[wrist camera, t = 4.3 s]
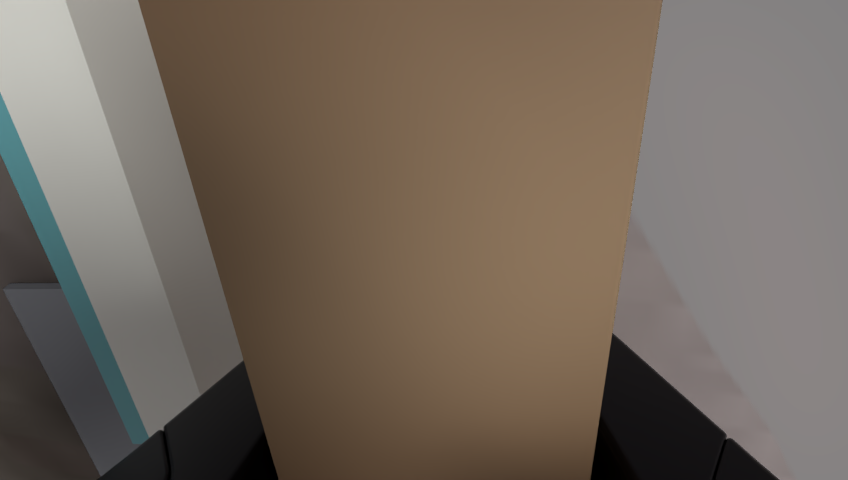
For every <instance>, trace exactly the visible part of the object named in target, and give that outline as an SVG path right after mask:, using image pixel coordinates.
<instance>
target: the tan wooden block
mask: <svg viewBox="0 0 848 480" xmlns="http://www.w3.org/2000/svg"><path fill="white" fill-rule="evenodd" d="M662 1H663V0H138V2H139V6H140V9H141V13H142V16H143V19H144V23H145V26H146V30H147V33H148V36H149V40H150V43H151V47H152V50H153V53H154V57H155V60H156V64H157V67H158V70H159V74H160V77H161V81H162V84H163V87H164V91H165V94H166V98H167V101H168V104H169V108H170V111H171V115H172V118H173V121H174V125H175V128H176V132H177V135H178V138H179V142H180V145H181V149H182V152H183V155H184V159H185V162H186V166H187V169H188V172H189V176H190V179H191V183H192V186H193V190H194V193H195V196H196V200H197V203H198V207H199V210H200V213H201V217H202V220H203V224H204V227H205V230H206V234H207V237H208V241H209V244H210V247H211V251H212V254H213V258H214V261H215V264H216V268H217V271H218V275H219V278H220V281H221V285H222V288H223V292H224V295H225V298H226V302H227V305H228V309H229V312H230V315H231V319H232V322H233V326H234V329H235V332H236V336H237V339H238V343H239V346H240V349H241V353H242V356H243V360H244V363H245V366H246V370H247V373H248V377H249V380H250V384H251V387H252V390H253V394H254V397H255V401H256V404H257V407H258V411H259V414H260V418H261V421H262V424H263V428H264V431H265V435H266V438H267V441H268V445H269V448H270V452H271V455H272V458H273V462H274V465H275V469H276V472H277V475H278V479H279V480H590V478H591V471H592V464H593V458H594V451H595V444H596V438H597V431H598V425H599V418H600V411H601V405H602V398H603V391H604V385H605V378H606V372H607V365H608V358H609V352H610V345H611V338H612V332H613V325H614V319H615V312H616V305H617V299H618V292H619V285H620V279H621V272H622V266H623V259H624V252H625V246H626V239H627V233H628V226H629V219H630V213H631V206H632V199H633V193H634V185H635V180H636V173H637V166H638V160H639V153H640V146H641V139H642V133H643V126H644V120H645V113H646V106H647V100H648V93H649V86H650V80H651V74H652V67H653V60H654V54H655V46H656V40H657V34H658V27H659V20H660V14H661V7H662Z"/></svg>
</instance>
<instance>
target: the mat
mask: <svg viewBox="0 0 848 480" xmlns="http://www.w3.org/2000/svg"><path fill="white" fill-rule="evenodd" d="M3 291H4V293H5V295H6V297H7V299H8V300H9V302H10V304H11V306H12V308H13V310H14V312H15V314H16V316H17V318H18V320H19V321H20V323H21V325H22V327H23V329H24V331H25V333H26V335H27V337H28V339H29V340H30V342H31V344H32V346H33V348H34V350H35V352H36V354H37V356H38V358H39V360H40V361H41V363H42V365H43V367H44V369H45V371H46V373H47V375H48V377H49V379H50V381H51V382H52V384H53V386H54V388H55V390H56V392H57V394H58V396H59V398H60V400H61V402H62V403H63V405H64V407H65V409H66V411H67V413H68V415H69V417H70V419H71V421H72V422H73V424H74V426H75V428H76V430H77V432H78V434H79V436H80V438H81V440H82V442H83V443H84V445H85V447H86V449H87V451H88V453H89V455H90V457H91V459H92V461H93V463H94V464H95V466H96V468H97V470H98V472H99V474H100V476H102V475H104V474H105V473H106V472H107V471H109V470H110V469H111V468H112V467H114V466H115V465H116V464H117V463H119V462H120V461H121V460H122V459H124V458H125V457H126V456H127V455H129V454H130V453H131V452H132V451H134V450H135V449H136V448H137V447H139V446H140V445H141V444H133V443H132V441H131V439H130V436H129V434H128V432H127V430H126V428H125V425H124V423H123V421H122V419H121V417H120V415H119V412H118V410H117V408H116V406H115V404H114V401H113V399H112V397H111V395H110V393H109V390H108V388H107V386H106V384H105V382H104V380H103V377H102V375H101V373H100V371H99V369H98V366H97V364H96V362H95V360H94V358H93V355H92V353H91V351H90V349H89V347H88V344H87V342H86V340H85V338H84V336H83V334H82V331H81V329H80V327H79V325H78V323H77V320H76V318H75V316H74V314H73V312H72V309H71V307H70V305H69V303H68V301H67V299H66V296H65V294H64V292H63V290H62V288H61V285H60V283H10V284H8V285H7V286H6V287H5V288H3Z"/></svg>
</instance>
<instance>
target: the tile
mask: <svg viewBox="0 0 848 480" xmlns="http://www.w3.org/2000/svg"><path fill="white" fill-rule="evenodd" d="M0 154H1V156H2V158H3V161H4V163H5V165H6V167H7V169H8V172H9V174H10V176H11V178H12V180H13V183H14V185H15V187H16V189H17V191H18V193H19V196H20V198H21V200H22V202H23V204H24V207H25V209H26V211H27V213H28V215H29V218H30V220H31V222H32V224H33V226H34V228H35V231H36V233H37V235H38V237H39V239H40V242H41V244H42V246H43V248H44V250H45V253H46V255H47V257H48V259H49V261H50V264H51V266H52V268H53V270H54V272H55V274H56V277H57V279H58V281H59V283H60V285H61V288H62V290H63V292H64V294H65V296H66V299H67V301H68V303H69V305H70V307H71V309H72V312H73V314H74V316H75V318H76V320H77V323H78V325H79V327H80V329H81V331H82V334H83V336H84V338H85V340H86V342H87V344H88V347H89V349H90V351H91V353H92V355H93V358H94V360H95V362H96V364H97V366H98V369H99V371H100V373H101V375H102V377H103V380H104V382H105V384H106V386H107V388H108V390H109V393H110V395H111V397H112V399H113V401H114V404H115V406H116V408H117V410H118V412H119V415H120V417H121V419H122V421H123V423H124V425H125V428H126V430H127V432H128V434H129V436H130V439H131V441H132V443H133V444H142V443H143V442H145V441H146V440H147V439H148V438H149V437H151V436H152V435H153V434H154V433H155V432H157V431H158V430H163V431H164V429H163V428H164V425H165V424H167V423H168V422H169V421H170V420H171V419H173V418H174V417H175V416H176V415H178V414H179V413H180V412H181V411H182V410H184V409H185V408H186V407H187V406H188V405H190V404H191V403H192V402H193V401H194V400H196V399H197V398H198V397H199V396H200V395H202V394H203V393H204V392H205V391H206V390H208V389H209V388H210V387H211V386H212V385H214V384H215V383H216V382H217V381H219V380H220V379H221V378H222V377H223V376H225V375H226V374H227V373H228V372H229V371H231V370H232V369H233V368H234V367H235V366H237V365H238V364H239V363H240V362H241V361H243V356H242V353H241V349H240V346H239V343H238V339H237V336H236V332H235V329H234V326H233V322H232V319H231V315H230V312H229V309H228V305H227V302H226V298H225V295H224V292H223V288H222V285H221V281H220V278H219V275H218V271H217V268H216V264H215V261H214V258H213V254H212V251H211V247H210V244H209V241H208V237H207V234H206V230H205V227H204V224H203V220H202V217H201V213H200V210H199V207H198V203H197V200H196V196H195V193H194V190H193V186H192V183H191V179H190V176H189V172H188V169H187V166H186V162H185V159H184V155H183V152H182V149H181V145H180V142H179V138H178V135H177V132H176V128H175V125H174V121H173V118H172V115H171V111H170V108H169V104H168V101H167V98H166V94H165V91H164V87H163V84H162V81H161V77H160V74H159V70H158V67H157V64H156V60H155V57H154V53H153V50H152V47H151V43H150V40H149V36H148V33H147V30H146V26H145V23H144V19H143V16H142V13H141V9H140V6H139V2H138V0H0Z"/></svg>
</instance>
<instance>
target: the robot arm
mask: <svg viewBox="0 0 848 480" xmlns="http://www.w3.org/2000/svg"><path fill="white" fill-rule="evenodd" d="M163 429H164V431H163V430H158V431H157V432H155V433H154V434H153V435H152V436H151V437H149V438H148V439H147V440H146V441H145V442H143V443H142V444H141V445H140V446H139V447H137V448H136V449H135V450H134V451H132V452H131V453H130V454H129V455H127V456H126V457H125V458H124V459H122V460H121V461H120V462H119V463H117V464H116V465H115V466H114V467H112V468H111V469H110V470H109V471H107V472H106V473H105V474H104V475H102V476H101V477H100V478H99V479H97V480H279V479H278V475H277V472H276V469H275V465H274V462H273V458H272V455H271V452H270V448H269V445H268V441H267V438H266V435H265V431H264V428H263V424H262V421H261V418H260V414H259V411H258V407H257V404H256V401H255V397H254V394H253V390H252V387H251V384H250V380H249V377H248V373H247V370H246V366H245V363H244V360H243V361H241V362H240V363H239V364H238V365H237V366H235V367H234V368H233V369H232V370H231V371H229V372H228V373H227V374H226V375H225V376H223V377H222V378H221V379H220V380H219V381H217V382H216V383H215V384H214V385H212V386H211V387H210V388H209V389H208V390H206V391H205V392H204V393H203V394H202V395H200V396H199V397H198V398H197V399H196V400H194V401H193V402H192V403H191V404H190V405H188V406H187V407H186V408H185V409H184V410H182V411H181V412H180V413H179V414H178V415H176V416H175V417H174V418H173V419H171V420H170V421H169V422H168V423H167V424H165V425H164V428H163ZM726 437H727V435H726V433H725V432H724V431H723V430H721V429H720V428H719V427H718V426H717V425H716V424H715V423H714V422H712V421H711V420H710V419H709V418H708V417H707V416H706V415H704V414H703V413H702V412H701V411H700V410H699V409H698V408H697V407H695V406H694V405H693V404H692V403H691V402H690V401H689V400H688V399H686V398H685V397H684V396H683V395H682V394H681V393H680V392H679V391H677V390H676V389H675V388H674V387H673V386H672V385H671V384H670V383H668V382H667V381H666V380H665V379H664V378H663V377H662V376H660V375H659V374H658V373H657V372H656V371H655V370H654V369H653V368H651V367H650V366H649V365H648V364H647V363H646V362H645V361H644V360H642V359H641V358H640V357H639V356H638V355H637V354H636V353H635V352H633V351H632V350H631V349H630V348H629V347H628V346H627V345H625V344H624V343H623V342H622V341H621V340H620V339H619V338H618V337H616V336H615V335H614V334H613V333H612V338H611V345H610V352H609V358H608V365H607V372H606V378H605V385H604V391H603V398H602V405H601V411H600V418H599V425H598V431H597V438H596V444H595V451H594V458H593V464H592V471H591V478H590V480H779V479H778V478H777V477H776V476H774V475H773V474H772V473H771V472H770V471H769V470H767V469H766V468H765V467H764V466H763V465H761V464H760V463H759V462H758V461H757V460H756V459H755V458H753V457H752V456H751V455H750V454H749V453H748V452H747V451H745V450H744V449H743V448H742V447H741V446H740V445H739V444H738V443H736V442H735V441H734V440H733V439H731V438H728V439H726Z"/></svg>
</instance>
